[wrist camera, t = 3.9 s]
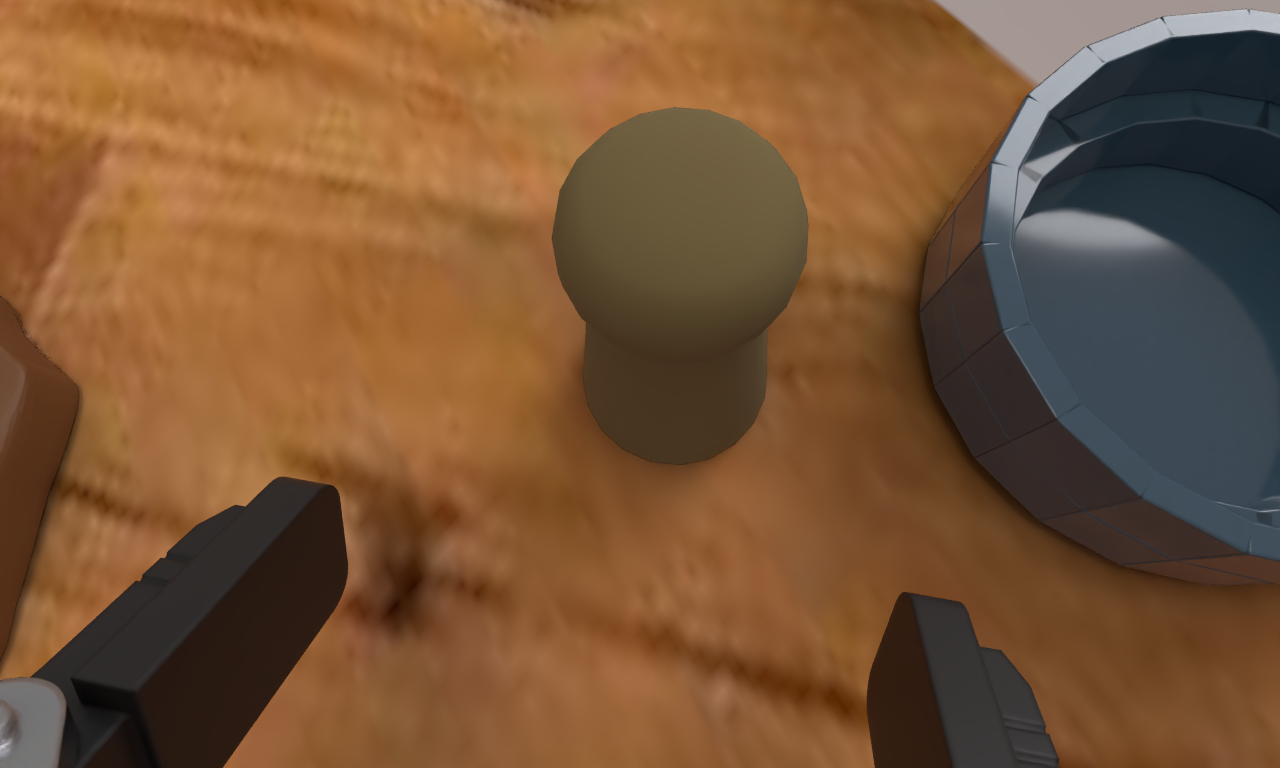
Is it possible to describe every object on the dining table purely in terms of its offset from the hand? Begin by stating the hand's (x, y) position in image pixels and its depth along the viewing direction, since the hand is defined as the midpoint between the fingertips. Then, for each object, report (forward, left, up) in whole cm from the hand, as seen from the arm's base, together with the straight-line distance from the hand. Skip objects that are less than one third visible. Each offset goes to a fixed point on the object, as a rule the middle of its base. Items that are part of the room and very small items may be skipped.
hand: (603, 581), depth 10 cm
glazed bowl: (-19, -1, -12) cm, 22 cm away
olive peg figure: (-4, -6, -12) cm, 14 cm away
